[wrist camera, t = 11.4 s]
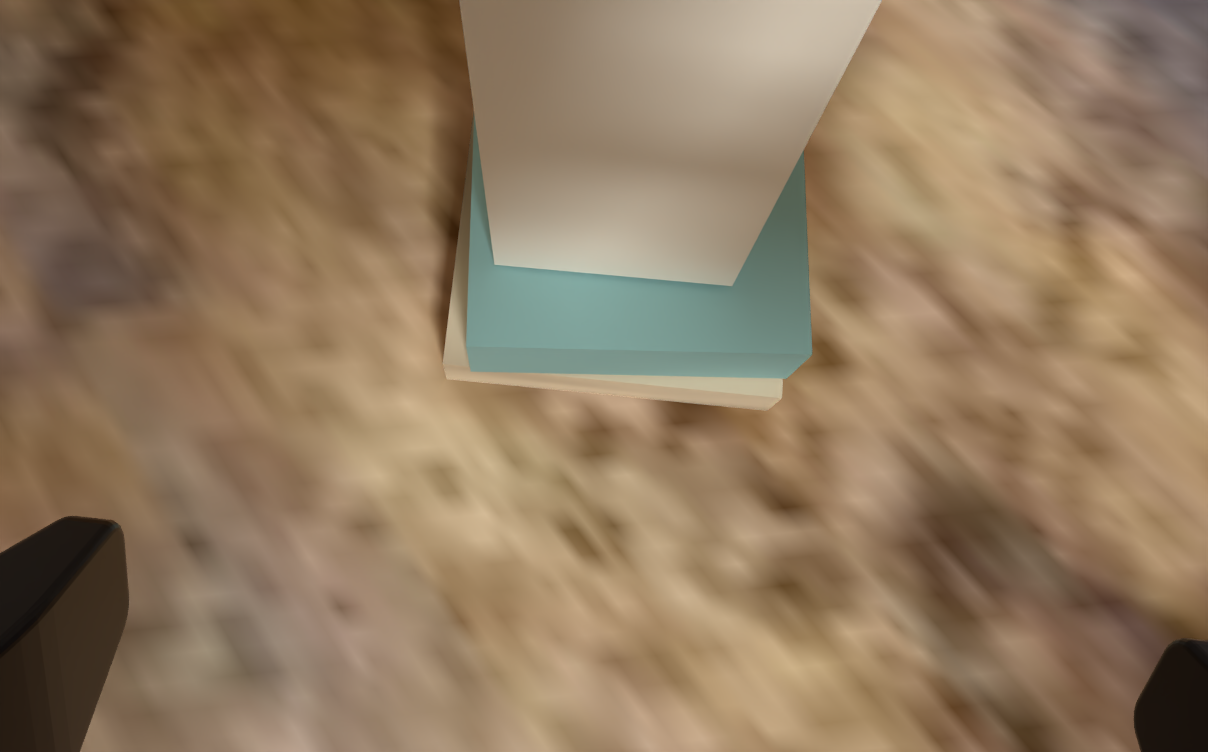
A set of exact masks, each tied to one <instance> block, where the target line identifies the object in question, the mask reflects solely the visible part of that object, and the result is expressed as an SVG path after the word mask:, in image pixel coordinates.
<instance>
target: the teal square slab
mask: <svg viewBox="0 0 1208 752" xmlns="http://www.w3.org/2000/svg"><path fill="white" fill-rule="evenodd" d="M466 349H467V354H468V360H469V365H470V371H471V372H509V373H555V374H600V375H646V376H692V377H738V378H784V379H787V378H788V377H789V376H790V375H791V374H792V373H793V372H794V371H795V370H796V369H797V368H798V367H799V366H801V365H802V364H803V363H804V362H805V361H806V360H807V359H808V358H809V357H810V356H811V355H812V337H811V313H810V289H809V265H808V242H807V218H806V194H805V170H804V150H803V152H802V154H801V156H800V158H799V159H798V161H797V163H796V165H795V167H794V169H793V171H792V173H791V175H790V177H789V179H788V180H787V182H786V184H785V186H784V188H783V190H782V192H781V194H780V196H779V198H778V200H777V201H776V203H775V205H774V207H773V209H772V211H771V213H770V215H769V217H768V219H767V221H766V222H765V224H764V226H763V228H762V230H761V232H760V234H759V236H758V238H757V240H756V242H755V243H754V245H753V247H752V249H751V251H750V253H749V255H748V257H747V259H746V261H745V263H744V265H743V266H742V268H741V270H740V272H739V274H738V276H737V278H736V280H735V282H734V284H733V286H725V285H714V284H703V283H692V282H680V281H669V280H658V279H647V278H636V277H625V276H614V275H603V274H592V273H581V272H570V271H558V270H547V269H536V268H525V267H514V266H503V265H494V257H493V250H492V242H491V235H490V227H489V220H488V212H487V205H486V198H485V190H484V183H483V175H482V168H481V160H480V153H479V145H478V138H477V130H476V123H475V115H474V132H473V161H472V190H471V218H470V247H469V276H468V305H467V334H466Z"/></svg>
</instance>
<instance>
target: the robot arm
mask: <svg viewBox="0 0 1208 752" xmlns="http://www.w3.org/2000/svg"><path fill="white" fill-rule="evenodd" d="M128 608H129V592H128V579H127V566H126V554H125V541H124V534H123V531H122V529H121V526H120V525H119V524H118V523H116V522H115V521H113V520H106V519H97V518H88V517H79V516H67V517H64V518H61V519H59V520H57V521H55V522H54V523H52V524H50V525H48V526H47V527H45V528H43V529H41V530H40V531H38V532H36V533H34V534H33V535H31V536H29V537H27V538H26V539H24V540H22V541H20V542H19V543H17V544H15V545H14V546H12V547H10V548H8V549H7V550H5V551H3V552H1V553H0V752H80V750H81V747H82V744H83V741H84V739H85V736H86V733H87V730H88V727H89V725H90V722H91V719H92V716H93V714H94V711H95V708H96V705H97V703H98V700H99V697H100V694H101V691H102V689H103V686H104V683H105V680H106V678H107V675H108V672H109V669H110V666H111V664H112V661H113V658H114V655H115V653H116V650H117V647H118V644H119V642H120V639H121V636H122V633H123V630H124V627H125V624H126V620H127V615H128ZM1134 728H1135V733H1136V737H1137V740H1138V744H1139V747H1140V750H1141V752H1208V640H1200V639H1190V638H1181V639H1176V640H1175V641H1173V642H1172V643H1171V644H1169V645H1168V647H1167V648H1166V649H1165V651H1164V653H1163V655H1162V656H1161V658H1160V660H1159V662H1158V664H1157V665H1156V667H1155V669H1154V671H1153V673H1152V674H1151V676H1150V678H1149V680H1148V682H1147V684H1146V685H1145V687H1144V689H1143V691H1142V693H1141V694H1140V696H1139V698H1138V700H1137V702H1136V706H1135V710H1134Z"/></svg>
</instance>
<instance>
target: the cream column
mask: <svg viewBox="0 0 1208 752" xmlns="http://www.w3.org/2000/svg"><path fill="white" fill-rule="evenodd" d="M881 1H882V0H459V3H460V10H461V18H462V25H463V33H464V40H465V48H466V55H467V63H468V70H469V78H470V85H471V93H472V100H473V108H474V115H475V123H476V130H477V138H478V145H479V153H480V160H481V168H482V175H483V183H484V190H485V198H486V205H487V212H488V220H489V227H490V235H491V242H492V250H493V257H494V265H503V266H514V267H525V268H536V269H547V270H558V271H570V272H581V273H592V274H603V275H614V276H625V277H636V278H647V279H658V280H669V281H680V282H692V283H703V284H714V285H725V286H733V284H734V282H735V280H736V278H737V276H738V274H739V272H740V270H741V268H742V266H743V265H744V263H745V261H746V259H747V257H748V255H749V253H750V251H751V249H752V247H753V245H754V243H755V242H756V240H757V238H758V236H759V234H760V232H761V230H762V228H763V226H764V224H765V222H766V221H767V219H768V217H769V215H770V213H771V211H772V209H773V207H774V205H775V203H776V201H777V200H778V198H779V196H780V194H781V192H782V190H783V188H784V186H785V184H786V182H787V180H788V179H789V177H790V175H791V173H792V171H793V169H794V167H795V165H796V163H797V161H798V159H799V158H800V156H801V154H802V152H803V150H804V148H805V146H806V144H807V142H808V140H809V138H810V137H811V135H812V133H813V131H814V129H815V127H816V125H817V123H818V121H819V119H820V117H821V116H822V114H823V112H824V110H825V108H826V106H827V104H828V102H829V100H830V98H831V96H832V95H833V93H834V91H835V89H836V87H837V85H838V83H839V81H840V79H841V77H842V75H843V74H844V72H845V70H846V68H847V66H848V64H849V62H850V60H851V58H852V56H853V54H854V53H855V51H856V49H857V47H858V45H859V43H860V41H861V39H862V37H863V35H864V33H865V32H866V30H867V28H868V26H869V24H870V22H871V20H872V18H873V16H874V14H875V12H876V11H877V9H878V7H879V5H880V3H881Z"/></svg>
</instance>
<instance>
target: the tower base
mask: <svg viewBox="0 0 1208 752" xmlns="http://www.w3.org/2000/svg"><path fill="white" fill-rule="evenodd" d="M473 132H474V113H473V121H472V129H471V137H470V145H469V153H468V161H467V170H466V178H465V186H464V194H463V202H462V210H461V219H460V227H459V235H458V243H457V251H456V259H455V267H454V276H453V284H452V292H451V300H450V308H449V316H448V324H447V333H446V341H445V349H444V357H443V367H444V371H445V374H446V378H447V379H452V380H462V381H472V382H483V383H493V384H503V385H513V386H523V387H533V388H543V389H553V390H564V391H574V392H584V393H594V394H604V395H614V396H624V397H634V398H645V399H655V400H665V401H675V402H685V403H695V404H705V405H715V406H726V407H736V408H746V409H756V410H766V411H767V410H768V409H770V408H771V407H772V406H773V405H774V404H776V403H777V402H778V401H779V400H780V399H782V385H783V378H738V377H692V376H646V375H600V374H555V373H509V372H471V371H470V365H469V360H468V354H467V349H466V334H467V305H468V276H469V247H470V218H471V190H472V161H473Z"/></svg>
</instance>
